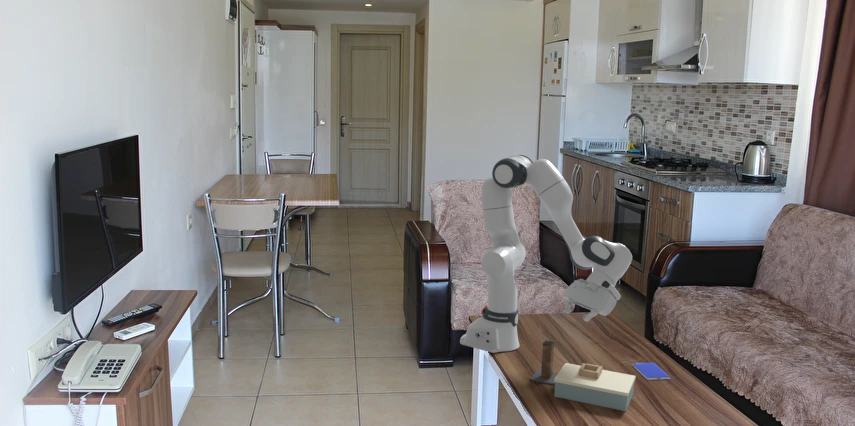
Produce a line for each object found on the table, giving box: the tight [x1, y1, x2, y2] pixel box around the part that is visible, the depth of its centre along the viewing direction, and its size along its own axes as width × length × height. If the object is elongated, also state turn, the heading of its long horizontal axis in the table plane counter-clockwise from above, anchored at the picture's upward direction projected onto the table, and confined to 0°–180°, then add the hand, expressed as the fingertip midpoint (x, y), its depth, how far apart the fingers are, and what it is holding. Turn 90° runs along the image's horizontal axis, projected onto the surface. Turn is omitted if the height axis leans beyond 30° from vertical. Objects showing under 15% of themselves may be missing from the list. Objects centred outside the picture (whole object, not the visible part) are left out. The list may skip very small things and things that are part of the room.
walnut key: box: [540, 340, 555, 379], centre depth 231 cm, size 3×3×12 cm
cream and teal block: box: [554, 362, 637, 412], centre depth 219 cm, size 23×15×8 cm, turn 65°
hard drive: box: [631, 361, 671, 381], centre depth 239 cm, size 2×8×12 cm
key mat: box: [529, 369, 559, 386], centre depth 232 cm, size 9×9×1 cm
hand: (575, 316), depth 234 cm, fingers open, 8 cm apart
